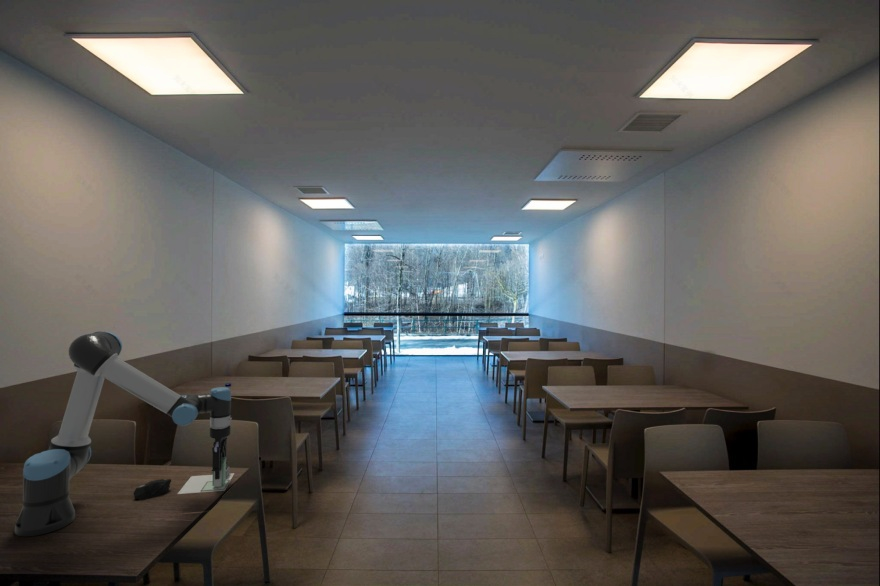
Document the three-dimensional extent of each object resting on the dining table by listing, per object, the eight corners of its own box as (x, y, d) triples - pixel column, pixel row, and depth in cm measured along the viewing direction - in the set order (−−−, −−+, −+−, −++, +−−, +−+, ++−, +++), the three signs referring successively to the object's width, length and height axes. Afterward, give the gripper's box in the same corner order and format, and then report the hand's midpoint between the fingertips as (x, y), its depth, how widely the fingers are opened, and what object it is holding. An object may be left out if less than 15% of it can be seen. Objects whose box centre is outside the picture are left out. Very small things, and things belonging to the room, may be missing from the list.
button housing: (226, 478, 184) (226, 471, 184) (213, 479, 183) (213, 472, 183) (229, 473, 189) (229, 466, 189) (216, 474, 188) (216, 467, 188)
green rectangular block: (223, 487, 175) (223, 460, 175) (212, 487, 174) (212, 461, 175) (225, 482, 179) (226, 456, 179) (214, 483, 178) (215, 457, 178)
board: (224, 491, 173) (224, 489, 173) (177, 495, 169) (177, 493, 169) (234, 474, 190) (234, 472, 190) (191, 477, 186) (191, 475, 186)
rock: (155, 502, 164) (155, 487, 164) (131, 502, 164) (132, 486, 164) (171, 490, 174) (172, 476, 174) (149, 490, 174) (149, 475, 174)
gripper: (225, 432, 170) (223, 492, 169) (235, 419, 186) (233, 474, 186) (203, 433, 168) (202, 494, 168) (215, 420, 184) (214, 476, 184)
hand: (219, 483), depth 177 cm, fingers closed on green rectangular block, 4 cm apart
